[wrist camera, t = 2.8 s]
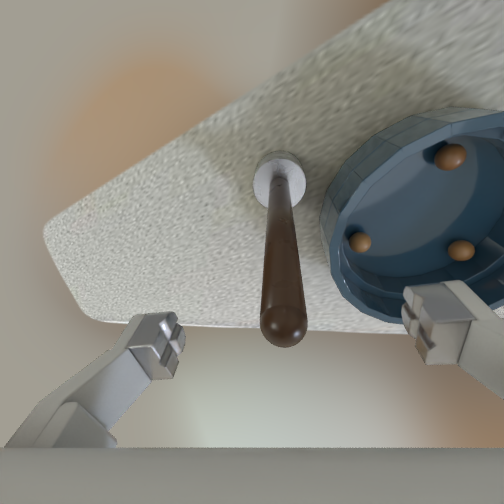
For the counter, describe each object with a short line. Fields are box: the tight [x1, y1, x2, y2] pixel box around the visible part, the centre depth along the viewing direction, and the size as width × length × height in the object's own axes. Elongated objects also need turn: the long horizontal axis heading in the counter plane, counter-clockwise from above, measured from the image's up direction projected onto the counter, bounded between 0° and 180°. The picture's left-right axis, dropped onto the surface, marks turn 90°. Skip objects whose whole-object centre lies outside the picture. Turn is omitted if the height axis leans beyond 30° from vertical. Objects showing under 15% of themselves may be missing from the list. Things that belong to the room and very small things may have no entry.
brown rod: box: [253, 151, 308, 348], centre depth 16 cm, size 4×4×18 cm
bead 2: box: [434, 144, 467, 171], centre depth 20 cm, size 2×2×2 cm
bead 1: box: [349, 232, 371, 253], centre depth 24 cm, size 2×2×2 cm
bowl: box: [319, 107, 504, 325], centre depth 22 cm, size 18×18×6 cm
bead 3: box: [448, 240, 475, 261], centre depth 24 cm, size 2×2×2 cm
